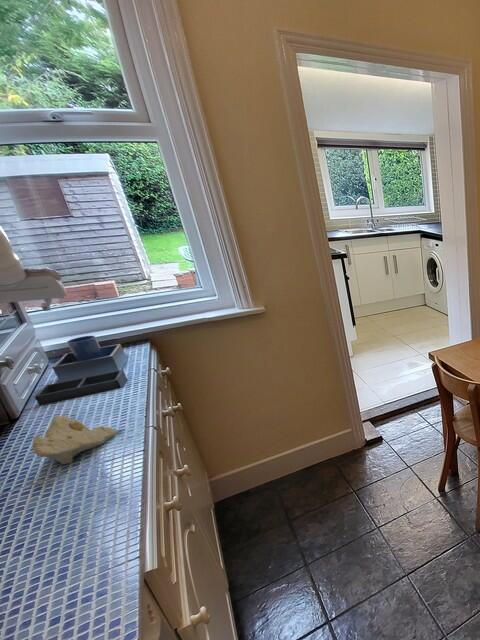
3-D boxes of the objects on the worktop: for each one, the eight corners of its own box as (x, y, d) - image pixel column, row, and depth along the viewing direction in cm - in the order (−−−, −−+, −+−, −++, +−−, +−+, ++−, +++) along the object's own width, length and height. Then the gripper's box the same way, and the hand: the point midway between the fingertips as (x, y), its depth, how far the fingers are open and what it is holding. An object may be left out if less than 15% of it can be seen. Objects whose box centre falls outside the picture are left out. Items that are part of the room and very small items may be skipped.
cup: (80, 375, 135) (64, 344, 131) (85, 368, 140) (70, 338, 136) (107, 370, 138) (92, 339, 134) (111, 363, 144) (97, 334, 139)
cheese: (94, 442, 102) (6, 435, 89) (111, 418, 102) (26, 407, 89) (112, 481, 95) (19, 480, 82) (130, 456, 95) (40, 450, 82)
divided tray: (40, 407, 116) (34, 396, 115) (51, 395, 123) (45, 385, 122) (122, 390, 125) (117, 379, 123) (127, 379, 132) (122, 369, 131)
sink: (61, 384, 131) (51, 367, 128) (74, 369, 142) (65, 353, 139) (120, 372, 138) (112, 355, 135) (127, 359, 149) (120, 343, 146)
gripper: (55, 261, 116) (74, 300, 125) (-61, 266, 103) (-32, 310, 112) (57, 273, 113) (75, 313, 122) (-63, 281, 101) (-32, 324, 109)
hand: (23, 311), depth 117 cm, fingers open, 8 cm apart
